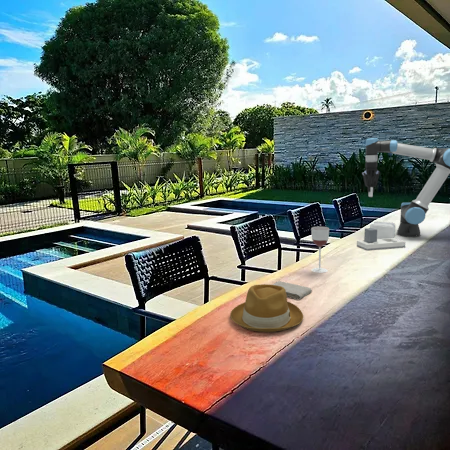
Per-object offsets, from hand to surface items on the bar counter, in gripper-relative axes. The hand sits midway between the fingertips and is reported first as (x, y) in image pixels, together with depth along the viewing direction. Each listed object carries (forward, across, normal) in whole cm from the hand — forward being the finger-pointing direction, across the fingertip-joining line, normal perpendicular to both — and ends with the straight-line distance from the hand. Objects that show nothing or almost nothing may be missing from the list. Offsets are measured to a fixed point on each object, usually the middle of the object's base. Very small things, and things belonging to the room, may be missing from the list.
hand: (370, 196), depth 271 cm
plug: (+28, +15, +24) cm, 39 cm away
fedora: (+28, +113, +107) cm, 158 cm away
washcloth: (+29, +94, +84) cm, 130 cm away
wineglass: (+28, +67, +59) cm, 94 cm away
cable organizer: (+29, -4, +9) cm, 31 cm away
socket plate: (+29, +9, +25) cm, 39 cm away
